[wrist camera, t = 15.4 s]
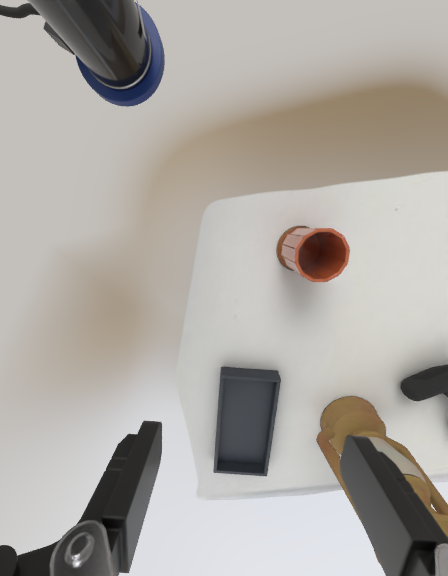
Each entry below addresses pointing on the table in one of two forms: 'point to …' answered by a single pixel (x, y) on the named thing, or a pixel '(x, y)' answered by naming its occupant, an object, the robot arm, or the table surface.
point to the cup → (315, 253)
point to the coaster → (280, 243)
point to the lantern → (365, 422)
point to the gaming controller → (426, 383)
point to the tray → (245, 420)
